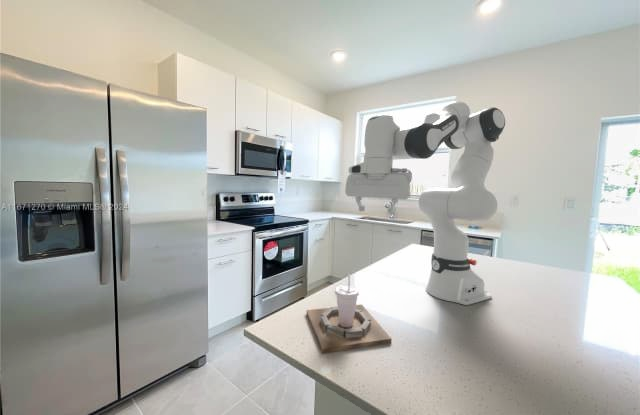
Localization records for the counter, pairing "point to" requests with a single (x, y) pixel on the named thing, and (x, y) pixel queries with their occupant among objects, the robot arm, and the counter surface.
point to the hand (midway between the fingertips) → (375, 212)
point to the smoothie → (346, 303)
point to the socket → (346, 330)
